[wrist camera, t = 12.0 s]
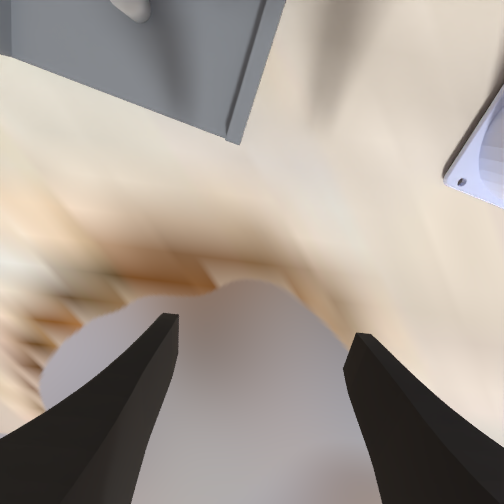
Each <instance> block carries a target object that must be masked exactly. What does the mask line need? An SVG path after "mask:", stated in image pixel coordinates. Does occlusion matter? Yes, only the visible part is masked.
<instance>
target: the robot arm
mask: <svg viewBox="0 0 504 504" xmlns="http://www.w3.org/2000/svg"><path fill="white" fill-rule="evenodd" d="M461 178H462V182H461V183H460V184H459V185H458V181H459V180H460V179H461ZM443 182H444V184H445V185H446V186H448V187H451V188H453V189H456V190H458V191H461V192H463V193H466V194H468V195H471V196H473V197H476V198H478V199H481V200H483V201H486V202H488V203H491V204H493V205H496V206H498V207H501V208H503V209H504V85H503V86H502V88H501V89H500V91H499V92H498V94H497V95H496V97H495V99H494V100H493V102H492V103H491V105H490V106H489V108H488V109H487V111H486V113H485V114H484V116H483V117H482V119H481V120H480V122H479V123H478V125H477V126H476V128H475V130H474V131H473V133H472V134H471V136H470V137H469V139H468V140H467V142H466V144H465V145H464V147H463V148H462V150H461V151H460V153H459V154H458V156H457V157H456V159H455V161H454V162H453V164H452V165H451V167H450V168H449V170H448V171H447V173H446V175H445V176H444V179H443ZM178 332H179V315H178V314H168V313H163V314H161V315H160V316H159V317H158V318H157V320H156V321H155V322H154V323H153V324H152V325H151V326H150V327H149V328H148V329H147V330H146V331H145V332H144V333H143V334H142V335H141V336H140V337H139V338H138V339H137V340H136V341H135V342H134V343H133V344H132V345H131V346H130V347H129V348H128V349H127V350H126V351H125V352H124V353H122V354H121V355H120V356H119V357H118V358H117V359H116V360H114V361H113V362H112V363H111V364H110V365H109V366H108V367H106V368H105V369H104V370H103V371H102V372H100V373H99V374H98V375H97V376H95V377H94V378H93V379H92V380H90V381H89V382H88V383H86V384H85V385H84V386H82V387H81V388H80V389H78V390H77V391H76V392H74V393H73V394H71V395H70V396H68V397H67V398H65V399H64V400H63V401H61V402H60V403H58V404H57V405H55V406H54V407H52V408H51V409H49V410H48V411H46V412H45V413H43V414H41V415H40V416H38V417H36V418H35V419H33V420H31V421H30V422H28V423H26V424H25V425H23V426H21V427H20V428H18V429H16V430H15V431H13V432H11V433H10V434H8V435H6V436H5V437H3V438H1V439H0V504H131V501H132V497H133V493H134V490H135V486H136V482H137V479H138V475H139V472H140V468H141V465H142V461H143V457H144V454H145V450H146V447H147V444H148V441H149V438H150V435H151V433H152V430H153V427H154V425H155V422H156V419H157V416H158V414H159V411H160V408H161V406H162V403H163V401H164V398H165V395H166V393H167V390H168V387H169V384H170V382H171V379H172V376H173V372H174V368H175V364H176V359H177V356H178ZM343 371H344V376H345V381H346V386H347V390H348V394H349V397H350V400H351V403H352V406H353V409H354V412H355V415H356V418H357V421H358V424H359V426H360V429H361V432H362V435H363V438H364V440H365V443H366V446H367V449H368V452H369V455H370V458H371V461H372V465H373V468H374V472H375V476H376V480H377V484H378V487H379V492H380V496H381V500H382V504H504V447H502V446H501V445H499V444H498V443H496V442H495V441H494V440H492V439H491V438H489V437H488V436H487V435H485V434H484V433H482V432H481V431H480V430H478V429H477V428H476V427H474V426H473V425H472V424H470V423H469V422H468V421H467V420H465V419H464V418H463V417H462V416H460V415H459V414H458V413H456V412H455V411H454V410H453V409H451V408H450V407H449V406H448V405H447V404H445V403H444V402H443V401H442V400H441V399H440V398H438V397H437V396H436V395H435V394H434V393H433V392H432V391H430V390H429V389H428V388H427V387H426V386H425V385H424V384H423V383H421V382H420V381H419V380H418V379H417V378H416V377H415V376H414V375H413V374H412V373H411V372H410V371H409V370H408V369H407V368H405V367H404V366H403V365H402V364H401V363H400V362H399V361H398V360H397V359H396V358H395V357H394V356H393V355H392V354H391V353H390V352H389V351H388V350H387V349H386V348H385V347H384V346H383V345H382V344H381V343H380V342H379V341H378V340H377V339H376V338H375V337H373V336H372V335H371V334H365V333H356V334H355V337H354V340H353V343H352V345H351V348H350V351H349V354H348V356H347V359H346V362H345V365H344V367H343Z"/></svg>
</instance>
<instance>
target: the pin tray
mask: <svg viewBox="0 0 504 504" xmlns="http://www.w3.org/2000/svg"><path fill="white" fill-rule="evenodd" d="M285 3H286V0H0V54H1V55H5V56H9V57H13V58H15V59H18V60H21V61H23V62H26V63H28V64H31V65H34V66H36V67H39V68H42V69H44V70H47V71H49V72H52V73H55V74H57V75H60V76H63V77H65V78H68V79H70V80H73V81H76V82H78V83H81V84H84V85H86V86H89V87H91V88H94V89H97V90H99V91H102V92H105V93H107V94H110V95H112V96H115V97H118V98H120V99H123V100H126V101H128V102H131V103H133V104H136V105H139V106H141V107H144V108H147V109H149V110H152V111H154V112H157V113H160V114H162V115H165V116H168V117H170V118H173V119H175V120H178V121H181V122H183V123H186V124H189V125H191V126H194V127H196V128H199V129H202V130H204V131H207V132H209V133H212V134H215V135H217V136H220V137H223V138H225V140H226V141H229V142H231V143H234V144H237V145H240V143H241V140H242V137H243V134H244V130H245V127H246V124H247V121H248V118H249V115H250V112H251V109H252V106H253V102H254V99H255V96H256V93H257V90H258V87H259V84H260V81H261V77H262V74H263V71H264V68H265V65H266V62H267V59H268V56H269V52H270V49H271V46H272V43H273V40H274V37H275V34H276V31H277V28H278V24H279V21H280V18H281V15H282V12H283V9H284V6H285Z"/></svg>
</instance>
